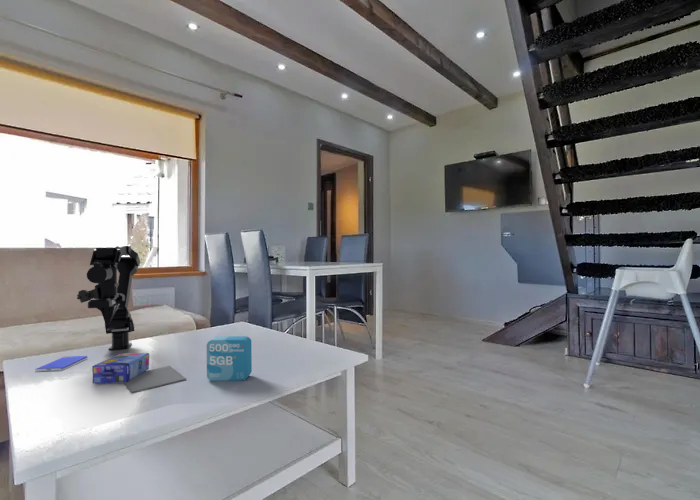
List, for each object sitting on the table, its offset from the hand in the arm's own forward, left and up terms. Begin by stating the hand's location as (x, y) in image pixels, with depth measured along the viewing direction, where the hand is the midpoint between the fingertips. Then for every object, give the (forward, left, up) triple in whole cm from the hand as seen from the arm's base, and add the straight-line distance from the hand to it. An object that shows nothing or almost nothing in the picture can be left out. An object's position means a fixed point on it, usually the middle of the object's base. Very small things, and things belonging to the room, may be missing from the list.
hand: (107, 324), depth 126 cm
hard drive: (+4, -12, -13) cm, 18 cm away
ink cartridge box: (+18, +13, -9) cm, 24 cm away
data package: (+36, +42, -12) cm, 57 cm away
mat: (+29, +20, -12) cm, 37 cm away
